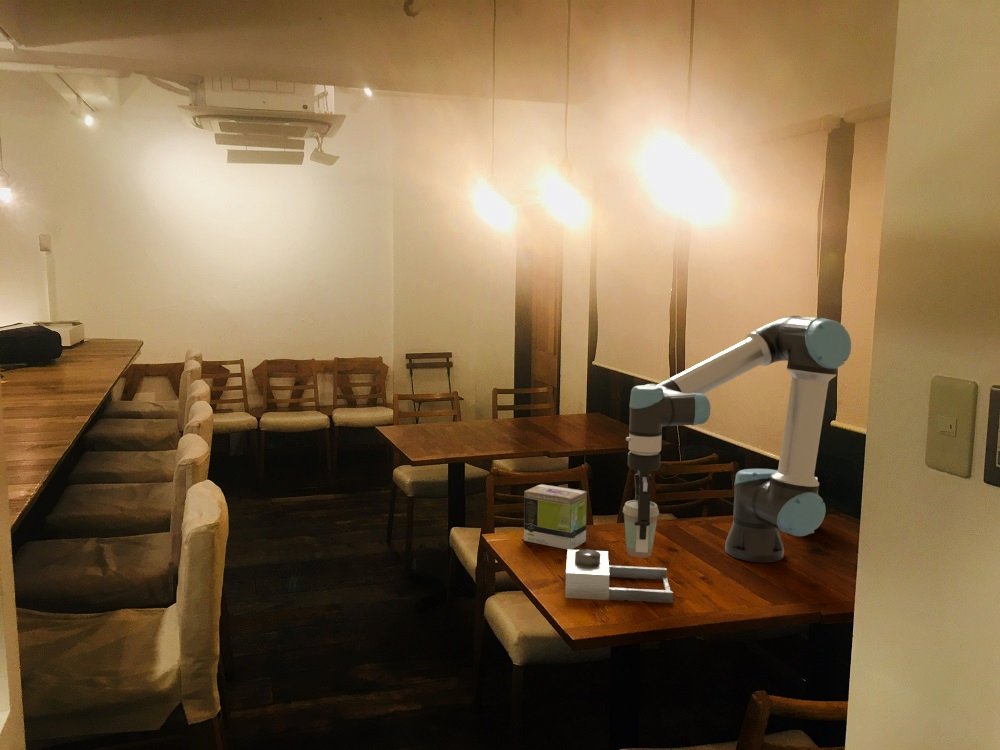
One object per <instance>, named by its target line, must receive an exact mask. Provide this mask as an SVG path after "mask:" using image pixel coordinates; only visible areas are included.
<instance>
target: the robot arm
mask: <svg viewBox="0 0 1000 750" xmlns="http://www.w3.org/2000/svg"><path fill="white" fill-rule="evenodd" d="M851 351H852V340H851V336H850V334H849V332H848V330H846V328H845V326H844V325H843V324H841V323H840V322H838V321H836V320H833V319H828V318H825V317H810V316H809V317H808V316H798V315H791V316H785V317H783V318H779V319H776V320H774V321H772V322H770V323H766V324H765V325H762V326H761V327H758V328H756V329H754V330H753V331H751V332H749V333H748V334H747V335H746V336H745V339H743V340H742V341H739V342H738V343H736V344H734V345H732V346H730V347H729V348H727V349H725V350H722V351H721V352H718V353H717V354H715V355H713V356H711V357H709V358H707V359H705V360H703V361H701V362H699V363H696V364H695V365H693V366H691V367H689V368H687V369H685V370H683V371H681V372H680V373H677V374H675V375H673V376H671V377H670V378H668V379H666V380H663V381H662V382H659V383H658V384H657V383H647V384H644V385H643V384H641V385H635V386H633V387H632V389H631V390H630V396H629V398H630V400H629V404H628V406H629V420H628V421H629V424H628V427H629V428H628V433H629V434H628V436H626V438H625V441H627V442H628V450H629V452H628V453H627V467H628V468H629V469H631V470H633V471H635V474H634V477H633V479H634V491H635V492H634V493H635V495H634V500H638V522H635V523H634V525H637V531H636V552H647V553H648V532H649V525H650V502H651V495H652V485H653V477H652V475H651V474H650V473H651V472H654V471H655V472H656V471H658V470H659V469H660V467H661V453H660V452H661V451H662V439H663V438H662V436H663V435H662V429H663V427H672V426H673V427H675V426H676V427H677V426H692V427H693V426H697V425H704V424H705V423H707V421H708V420H709V418H710V417H711V404H710V401H709V400H710V399H709V398H708V396H707V395H705V394H706V393H708V392H710V391H713V390H714V389H716V388H718V387H720V386H722V385H725V384H726V383H728V382H729V381H731V380H734V379H735V378H737V377H740V376H741V375H743V374H745V373H747V372H749V371H752V369H755V368H757V367H759V366H761V367H767V366H769V365H772V364H773V363H777V362H787V365H786V370H787V372H788V373H789V374H790V376H791V382H790V389H789V395H788V400H787V401H788V402H787V408H786V414H785V415H786V416H785V422H784V428H783V433H782V434H783V435H782V440H781V441H782V443H781V448H780V454H779V460H778V461H779V462H778V468H777V469H771V468H746V469H745V468H744V469H740V470H738V471H737V472H736V474H735V480H734V483H733V484H734V496H733V497H734V499H733V518H732V519H733V521H732V525H731V528H730V529H729V532H728V535H727V537H726V538H725V539H726V540H725V544H724V545H725V547H724V551H725V553H727V554H728V555H729V556H731V557H732V558H735V559H739V560H741V561H746V562H753V563H763V564H764V563H774V562H779V561H781V560H783V558H784V555H785V553H784V552H785V551H784V550H785V548H784V544H783V541H782V537H781V533H780V531H781V532H782V533H785V534H790V535H791V536H795V537H805V536H808V535H810V534H813V533H812V532H813V531H814V532H815V530H817V529H818V528H819V527H820V526H821V524H822V523H823V521H824V518H825V515H826V504H825V502H824V500H823V498H822V497H821V496H820V495H819V488H820V482H819V481H818V480H816V478H815V477H816V476H815V471H816V466H817V465H816V464H817V458H818V453H819V445H820V439H821V433H822V425H823V421H824V414H825V407H826V400H827V394H828V388H829V382H830V381H831V380H832V379H833V378H835V377H837V372H838V368H841V366H844V364H845V362H847V360H848V359H849V358H850V355H851Z"/></svg>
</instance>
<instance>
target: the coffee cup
mask: <svg viewBox="0 0 1000 750" xmlns="http://www.w3.org/2000/svg"><path fill="white" fill-rule="evenodd" d="M622 509H623V510H622V513H623V521H624V531H625V532H624V533H625V546H626V553H627V554H628V556H631V557H633V558H634V557H635V558H647V557H650V556H651V555H652V553H653V548H654V547H653V546H654V541H655V535H656V529H657V522H658V516H659V515H660V511H659V507H658V504H657V503H655V502H653V501H650V525H649V532H648V553H647V552H636V531H637V525H634V523H635V522H638V500H635V499H632V500H628V501H626V502H624V506H623V508H622Z"/></svg>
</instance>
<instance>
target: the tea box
mask: <svg viewBox="0 0 1000 750" xmlns="http://www.w3.org/2000/svg"><path fill="white" fill-rule="evenodd" d="M523 494H524V495H523V496H524V497H523V498H524V504H523V509H524V510H523V515H524V516H523V540H524V541H525V542H529V543H534V544H539V545H543V546H548V547H553V548H558V549H562V550H568V549H570V550H575V548H577V547H579V546H581V545H582V544H583V543H586V540H587V502H588V501H587V500H588V499H587V495H588V491H586V490H582V489H581V490H580V489H576V488H570V487H562V486H555V485H549V484H548V485H547V484H543V483H541V484H538V485H536V486H533V487H531V488H529V489H526V490H524V493H523Z"/></svg>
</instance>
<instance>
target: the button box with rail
mask: <svg viewBox="0 0 1000 750" xmlns="http://www.w3.org/2000/svg"><path fill="white" fill-rule="evenodd" d="M566 553H567V554H566V567H565V568H566V569H565V589H564V590H565V593H564V594H565V596H564V597H565V599H579V600H580V599H581V600H597V601H600V600H601V601H610V600H611V601H624V600H628V601H629V602H642V601H645V603H646V602H647V603H661V604H663V603H665V604H673V601H674V600H673V597H674V592H673V590H671V587H670V584H669V581H668V577H667V575H668V574H667V572H668V571H667V570H668V569H667V567H666V568H665V567H651V566H650V567H649V566H648V567H647V566H628V565H611V564H609V562H610V561H609V551H608V550H594V549H588V548H587V549H585V548H584V549H572V550H570V549H568V550H567V552H566ZM610 578H624V579H626V578H629V579H645V580H647V579H648V580H662V584H663V588H664V589H648V588H646V589H645V588H630V587H628V588H627V587H610ZM628 601H627V602H628Z"/></svg>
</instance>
